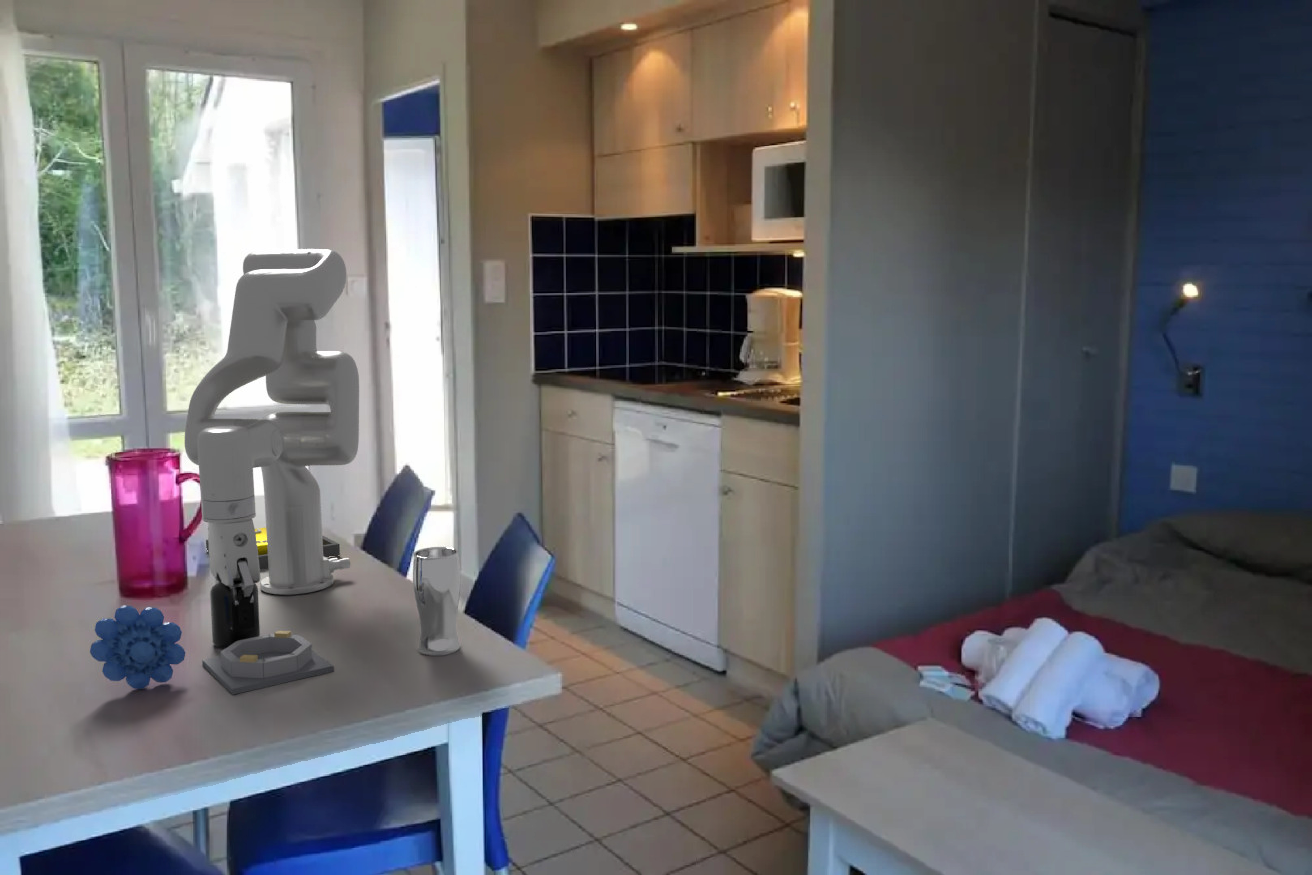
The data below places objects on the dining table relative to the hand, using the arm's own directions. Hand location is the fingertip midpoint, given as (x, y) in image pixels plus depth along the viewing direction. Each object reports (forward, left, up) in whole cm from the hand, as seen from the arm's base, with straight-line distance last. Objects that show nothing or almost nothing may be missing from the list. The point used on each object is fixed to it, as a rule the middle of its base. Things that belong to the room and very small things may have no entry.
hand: (235, 621), depth 164 cm
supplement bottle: (0, 0, -4) cm, 4 cm away
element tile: (-21, -50, -4) cm, 54 cm away
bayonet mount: (0, +14, -3) cm, 14 cm away
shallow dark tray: (-22, -49, -3) cm, 54 cm away
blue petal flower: (+16, +12, -4) cm, 20 cm away
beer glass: (-23, +22, -4) cm, 32 cm away
